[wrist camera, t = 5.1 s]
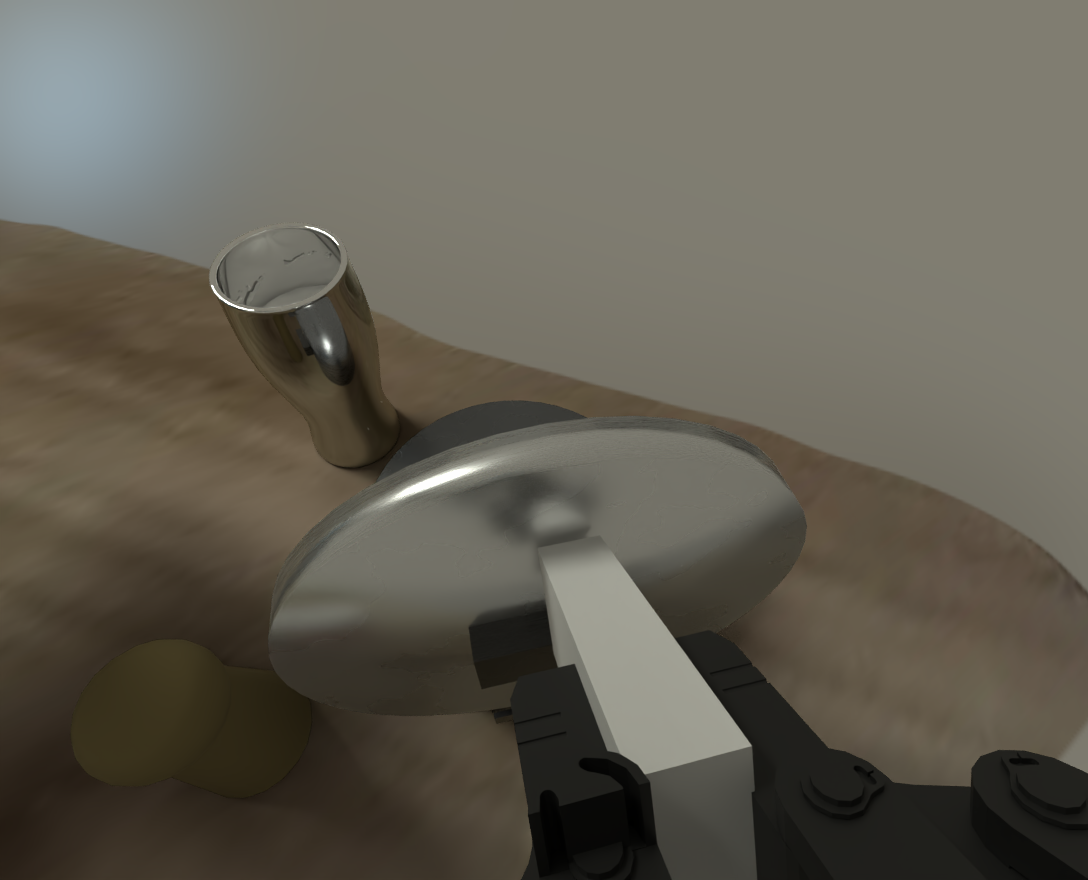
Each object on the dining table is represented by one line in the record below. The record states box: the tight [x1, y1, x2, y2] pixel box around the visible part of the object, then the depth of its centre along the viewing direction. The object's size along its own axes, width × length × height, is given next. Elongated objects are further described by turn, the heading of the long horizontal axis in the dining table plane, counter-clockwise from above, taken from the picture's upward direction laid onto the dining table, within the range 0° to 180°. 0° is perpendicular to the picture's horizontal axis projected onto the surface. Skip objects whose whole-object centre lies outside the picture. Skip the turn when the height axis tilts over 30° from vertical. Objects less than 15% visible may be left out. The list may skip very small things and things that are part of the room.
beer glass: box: [209, 223, 400, 468], centre depth 34 cm, size 7×7×15 cm
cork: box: [70, 639, 312, 798], centre depth 25 cm, size 6×6×11 cm
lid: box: [268, 416, 807, 716], centre depth 17 cm, size 16×16×2 cm
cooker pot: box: [376, 401, 587, 724], centre depth 31 cm, size 16×19×8 cm
